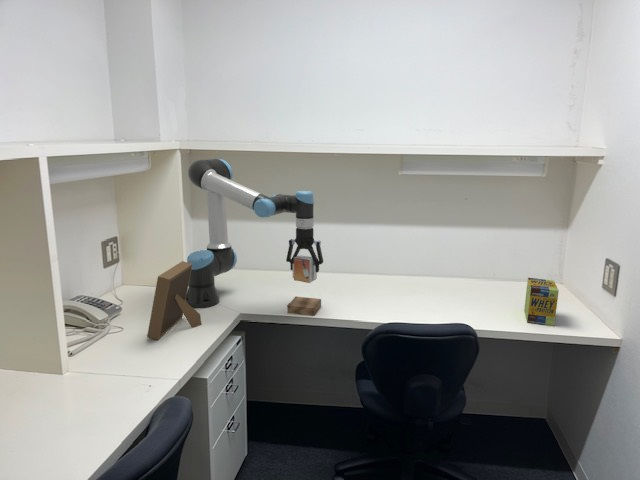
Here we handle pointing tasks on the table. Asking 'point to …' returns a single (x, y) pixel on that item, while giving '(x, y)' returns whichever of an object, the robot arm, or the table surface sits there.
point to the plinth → (304, 306)
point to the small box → (304, 269)
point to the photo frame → (172, 301)
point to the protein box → (541, 301)
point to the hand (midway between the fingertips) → (304, 278)
